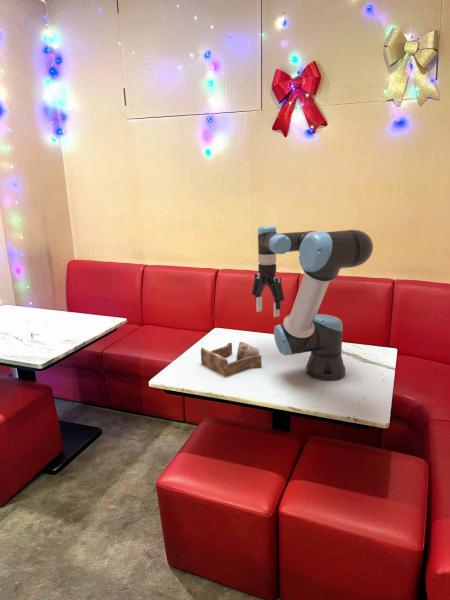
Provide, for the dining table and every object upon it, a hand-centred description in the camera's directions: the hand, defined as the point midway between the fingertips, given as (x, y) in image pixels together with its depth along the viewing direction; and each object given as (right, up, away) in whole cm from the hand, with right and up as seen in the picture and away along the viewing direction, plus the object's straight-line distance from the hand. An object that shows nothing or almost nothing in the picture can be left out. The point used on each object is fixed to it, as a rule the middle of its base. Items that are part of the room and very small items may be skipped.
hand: (267, 313), depth 186 cm
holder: (-17, -21, -8) cm, 28 cm away
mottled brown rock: (-6, -19, -1) cm, 21 cm away
